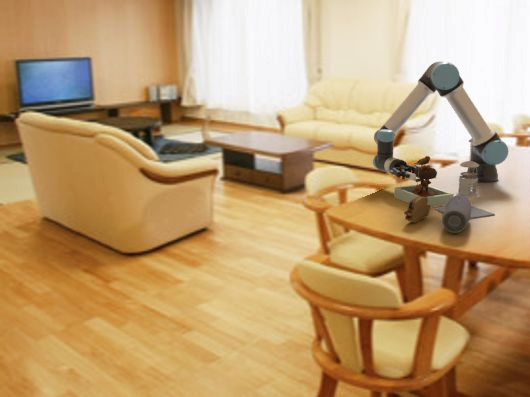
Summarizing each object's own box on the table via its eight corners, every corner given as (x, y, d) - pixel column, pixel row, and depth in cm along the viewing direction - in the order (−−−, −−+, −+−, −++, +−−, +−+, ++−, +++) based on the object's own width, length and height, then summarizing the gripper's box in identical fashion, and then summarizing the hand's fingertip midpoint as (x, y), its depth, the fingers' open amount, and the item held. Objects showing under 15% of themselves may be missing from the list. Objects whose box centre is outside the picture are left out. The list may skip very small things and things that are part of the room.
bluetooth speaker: (446, 217, 226) (447, 192, 224) (471, 219, 223) (473, 194, 220) (439, 235, 206) (441, 207, 203) (467, 237, 202) (469, 210, 200)
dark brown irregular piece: (429, 206, 241) (430, 159, 237) (404, 204, 248) (404, 157, 243) (442, 198, 253) (442, 153, 249) (417, 196, 260) (418, 152, 255)
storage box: (423, 193, 262) (424, 183, 261) (452, 204, 244) (453, 194, 243) (394, 197, 257) (394, 187, 256) (421, 208, 239) (422, 198, 238)
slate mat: (467, 205, 242) (467, 204, 242) (494, 215, 227) (494, 213, 227) (435, 209, 237) (435, 208, 236) (461, 220, 222) (461, 219, 222)
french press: (452, 195, 258) (455, 139, 252) (463, 190, 266) (466, 136, 260) (473, 199, 251) (477, 141, 245) (484, 193, 260) (488, 138, 253)
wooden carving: (420, 215, 230) (421, 191, 227) (431, 217, 227) (432, 192, 224) (401, 225, 217) (401, 200, 215) (412, 228, 215) (413, 201, 212)
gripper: (416, 172, 272) (446, 182, 251) (374, 177, 264) (402, 187, 244) (417, 156, 270) (447, 165, 249) (375, 160, 262) (403, 170, 242)
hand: (425, 176), depth 247 cm, fingers closed on dark brown irregular piece, 10 cm apart
